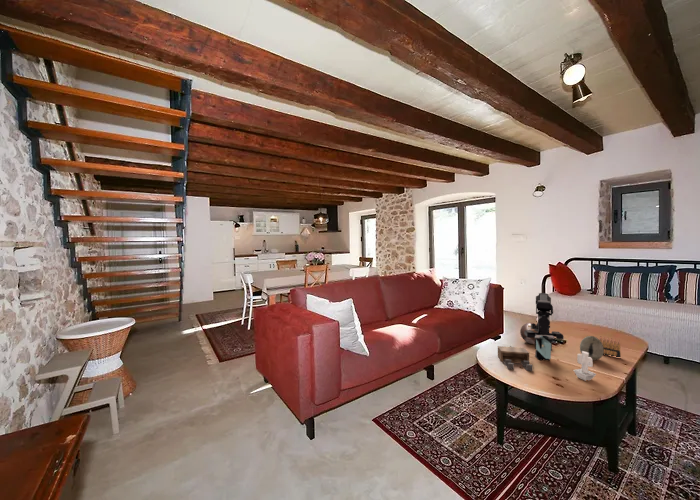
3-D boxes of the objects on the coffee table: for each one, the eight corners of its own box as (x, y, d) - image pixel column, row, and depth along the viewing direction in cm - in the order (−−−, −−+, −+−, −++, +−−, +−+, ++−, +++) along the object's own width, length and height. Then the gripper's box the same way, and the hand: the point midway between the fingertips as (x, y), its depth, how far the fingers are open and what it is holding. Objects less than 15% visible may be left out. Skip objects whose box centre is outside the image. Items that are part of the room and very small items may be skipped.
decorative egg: (581, 354, 193) (581, 331, 192) (604, 359, 185) (605, 336, 184) (578, 359, 185) (578, 336, 184) (602, 365, 177) (603, 341, 176)
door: (534, 348, 179) (534, 334, 179) (540, 349, 179) (540, 335, 178) (543, 358, 166) (543, 343, 165) (550, 359, 165) (550, 343, 164)
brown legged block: (524, 358, 188) (524, 347, 188) (535, 371, 171) (535, 359, 171) (497, 356, 192) (497, 346, 192) (505, 368, 175) (505, 357, 174)
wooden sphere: (519, 344, 211) (519, 324, 210) (520, 338, 224) (521, 319, 223) (544, 348, 203) (544, 327, 202) (544, 341, 215) (544, 321, 215)
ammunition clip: (620, 358, 186) (621, 339, 185) (620, 358, 185) (620, 340, 184) (598, 353, 194) (599, 335, 193) (598, 353, 193) (598, 336, 192)
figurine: (597, 380, 159) (598, 353, 159) (584, 382, 157) (585, 355, 156) (584, 374, 166) (584, 348, 166) (571, 376, 164) (572, 350, 163)
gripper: (555, 319, 177) (554, 344, 178) (521, 318, 181) (521, 342, 182) (564, 325, 166) (563, 352, 167) (527, 323, 170) (527, 349, 171)
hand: (543, 348), depth 172 cm, fingers closed on door, 2 cm apart
